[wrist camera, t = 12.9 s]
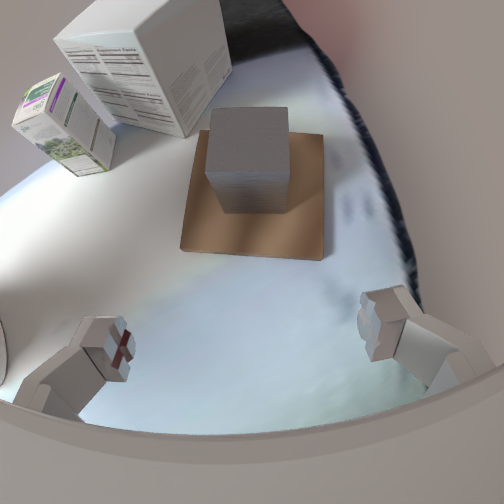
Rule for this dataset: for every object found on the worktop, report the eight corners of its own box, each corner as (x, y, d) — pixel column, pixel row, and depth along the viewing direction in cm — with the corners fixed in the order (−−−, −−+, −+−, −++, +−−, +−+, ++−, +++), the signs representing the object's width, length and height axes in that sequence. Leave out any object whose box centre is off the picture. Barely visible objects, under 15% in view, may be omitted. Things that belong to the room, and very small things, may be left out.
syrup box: (117, 135, 34) (63, 67, 20) (110, 173, 33) (43, 109, 19) (85, 143, 34) (28, 85, 20) (76, 179, 33) (8, 126, 19)
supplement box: (160, 60, 37) (124, -23, 20) (234, 71, 35) (215, -33, 18) (112, 122, 35) (49, 40, 18) (187, 140, 33) (133, 30, 16)
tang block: (184, 251, 30) (163, 236, 24) (202, 137, 33) (190, 106, 27) (320, 260, 29) (332, 247, 23) (321, 141, 31) (328, 110, 26)
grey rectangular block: (224, 213, 29) (204, 172, 20) (228, 161, 30) (212, 109, 21) (285, 214, 28) (289, 171, 20) (284, 161, 30) (287, 107, 21)
